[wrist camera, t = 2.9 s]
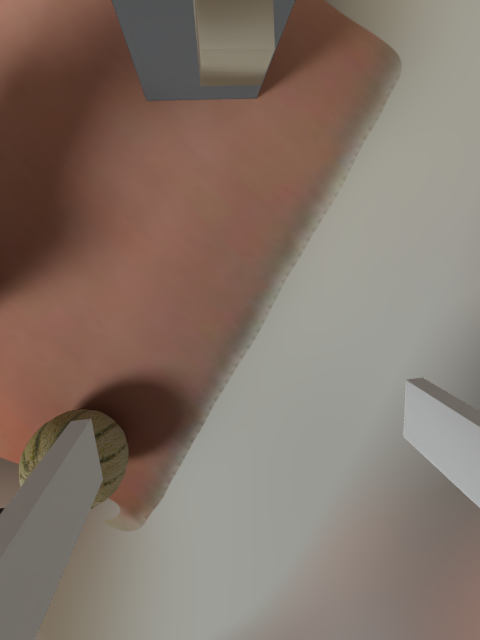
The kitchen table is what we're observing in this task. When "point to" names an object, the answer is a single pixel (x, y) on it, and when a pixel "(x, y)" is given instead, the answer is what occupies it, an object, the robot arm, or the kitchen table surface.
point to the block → (234, 41)
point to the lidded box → (177, 49)
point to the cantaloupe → (107, 442)
